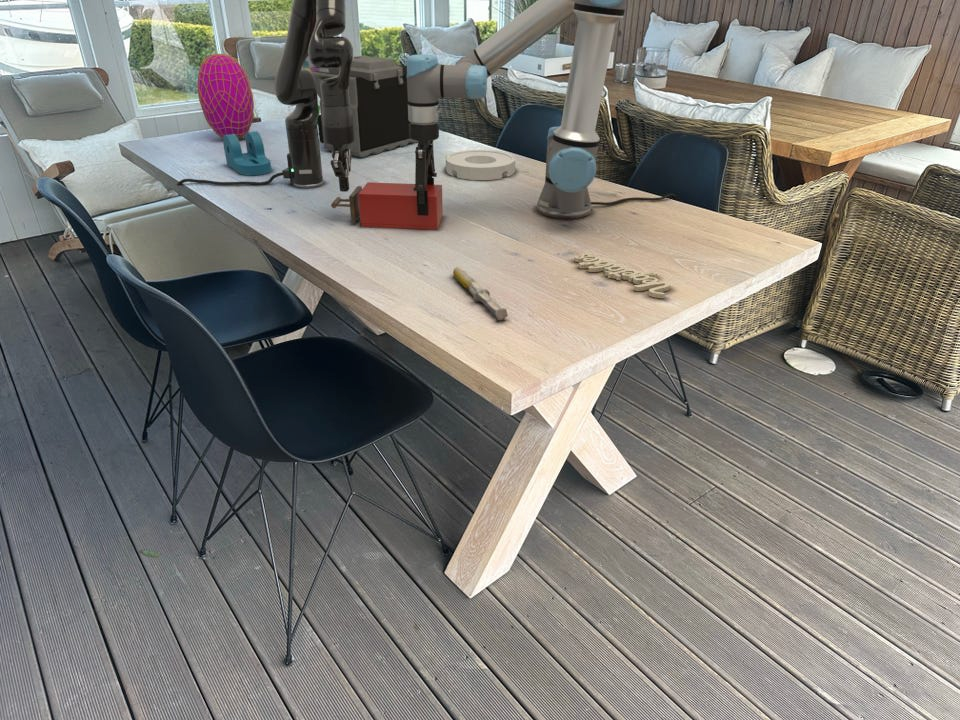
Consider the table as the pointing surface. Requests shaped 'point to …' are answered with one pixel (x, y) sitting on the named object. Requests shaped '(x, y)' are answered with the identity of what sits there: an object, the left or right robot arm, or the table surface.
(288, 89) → the left robot arm
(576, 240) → the table surface
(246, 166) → the camera mount
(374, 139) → the cooler box
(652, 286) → the decorative sign
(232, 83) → the decorative egg
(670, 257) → the table surface
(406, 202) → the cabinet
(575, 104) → the right robot arm
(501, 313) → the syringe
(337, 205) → the drawer
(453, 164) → the ashtray
